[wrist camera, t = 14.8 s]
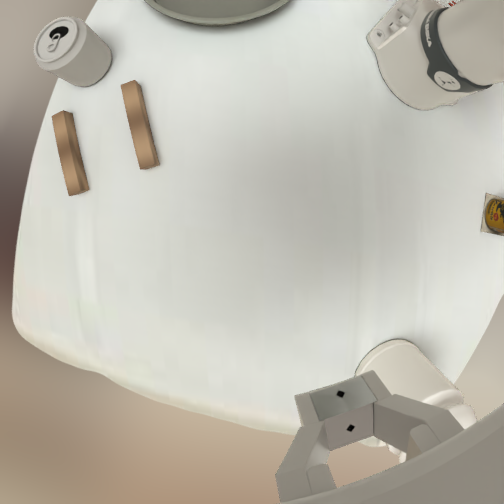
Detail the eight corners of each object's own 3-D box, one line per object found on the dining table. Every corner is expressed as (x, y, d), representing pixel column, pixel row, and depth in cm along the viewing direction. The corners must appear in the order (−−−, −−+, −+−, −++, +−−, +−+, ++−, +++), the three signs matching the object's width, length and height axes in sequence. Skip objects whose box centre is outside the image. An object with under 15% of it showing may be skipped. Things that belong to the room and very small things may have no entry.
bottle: (367, 408, 54) (426, 514, 27) (340, 368, 51) (410, 493, 23) (424, 369, 53) (502, 458, 26) (406, 323, 50) (506, 419, 23)
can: (119, 43, 35) (90, 9, 23) (105, 89, 36) (69, 65, 25) (77, 43, 34) (41, 14, 22) (63, 87, 35) (20, 68, 24)
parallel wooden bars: (159, 165, 40) (154, 164, 37) (78, 194, 40) (69, 196, 37) (140, 85, 37) (134, 79, 34) (61, 118, 37) (51, 116, 34)
